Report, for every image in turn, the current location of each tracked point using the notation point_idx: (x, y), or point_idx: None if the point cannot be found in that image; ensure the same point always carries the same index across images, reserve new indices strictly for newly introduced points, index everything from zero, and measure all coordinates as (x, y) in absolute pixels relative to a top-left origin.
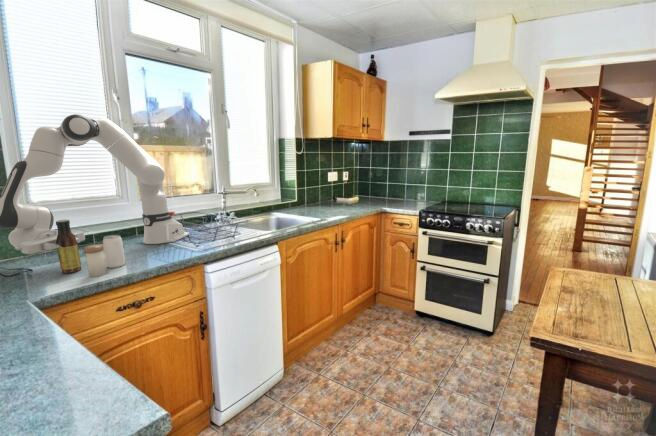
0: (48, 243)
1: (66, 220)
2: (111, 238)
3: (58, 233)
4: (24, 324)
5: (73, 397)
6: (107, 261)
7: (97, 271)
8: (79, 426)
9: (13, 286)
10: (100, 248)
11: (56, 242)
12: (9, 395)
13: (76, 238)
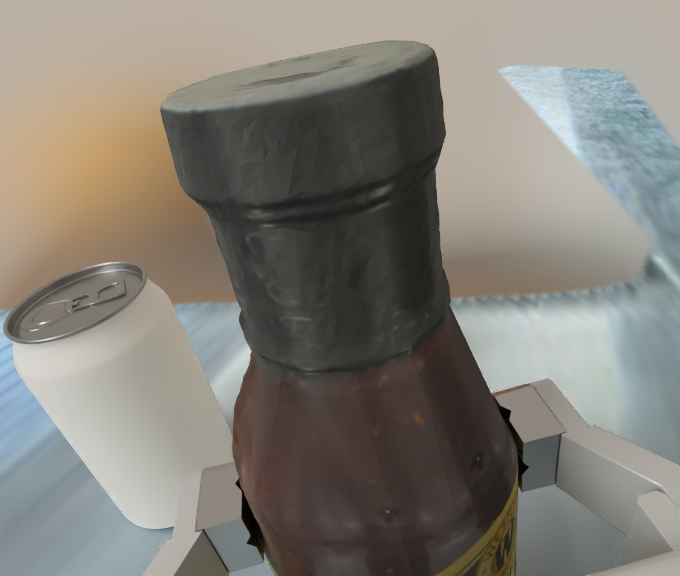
0: (639, 496)
1: (249, 68)
2: (131, 268)
3: (449, 306)
4: (655, 182)
5: (559, 80)
6: (225, 429)
7: None
8: (557, 68)
9: None
10: None
11: (509, 431)
12: (629, 87)
13: (210, 482)
